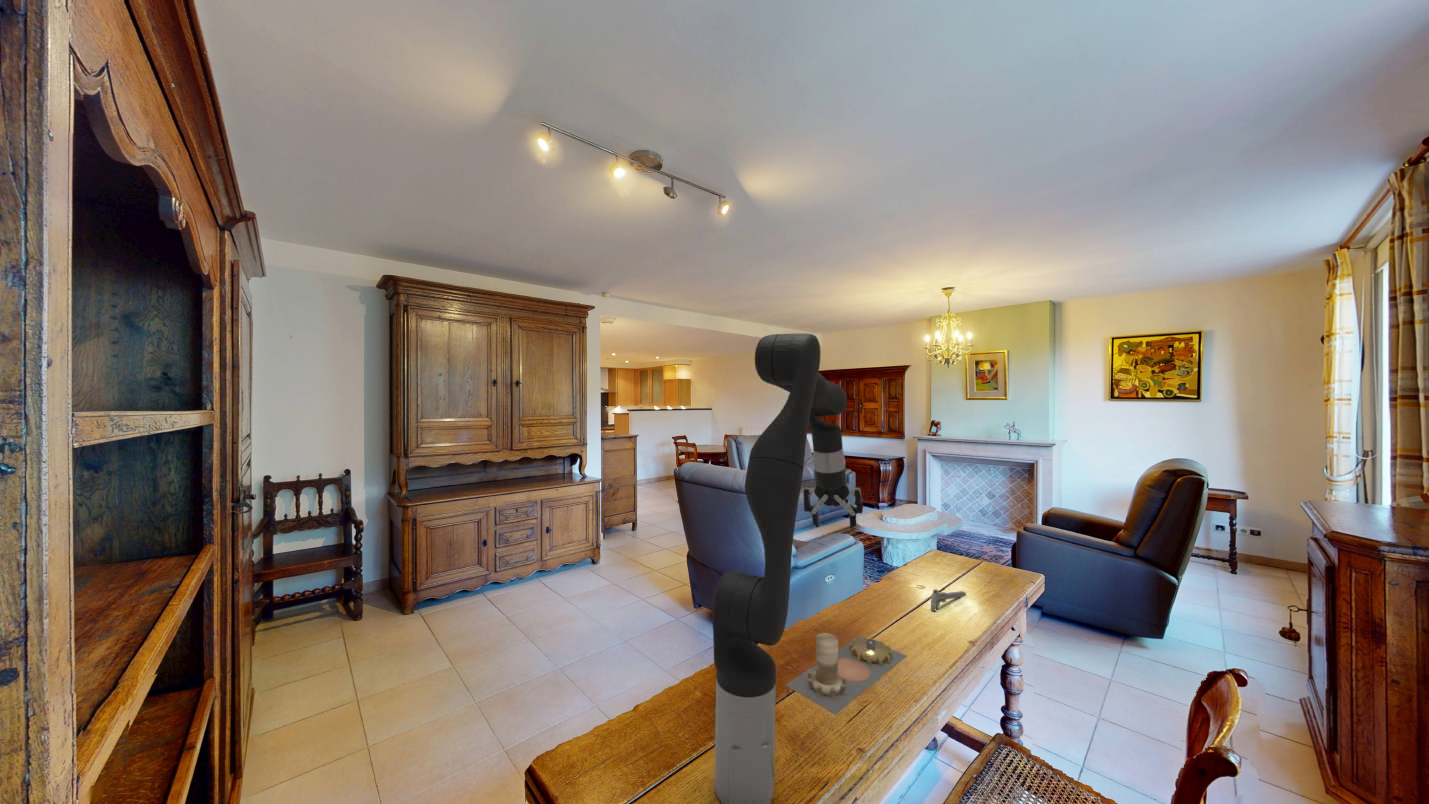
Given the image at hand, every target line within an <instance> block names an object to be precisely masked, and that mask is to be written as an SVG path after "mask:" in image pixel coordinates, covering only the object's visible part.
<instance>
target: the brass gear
mask: <svg viewBox="0 0 1429 804" xmlns="http://www.w3.org/2000/svg"><path fill="white" fill-rule="evenodd" d="M865 638H866V637H864V636H862V637H860V639H858V640H857V639H856V638H853V639H852V641H853V643H851V642H852V641H850V642H849V643H850V651H851V655H852V656H855V657H857V660H858V661H859V662H861V661H864V662H867V664H868V665H871V664H878V665H879V666H882V664H883V663H887V664H889V663H890V659H891V660H892V651H891V649H892V647H891V646H890V645H886V644H885V642H884V641H883V640H877V639H874V637H870V638H866V639H865Z"/></svg>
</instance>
